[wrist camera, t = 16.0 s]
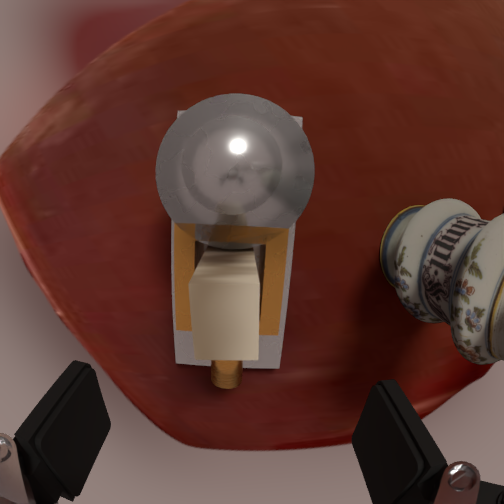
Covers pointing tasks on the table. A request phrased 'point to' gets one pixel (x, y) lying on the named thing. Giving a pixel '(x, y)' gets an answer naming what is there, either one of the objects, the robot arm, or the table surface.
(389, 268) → the apothecary jar
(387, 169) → the table surface
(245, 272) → the cream rectangular block
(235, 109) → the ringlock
